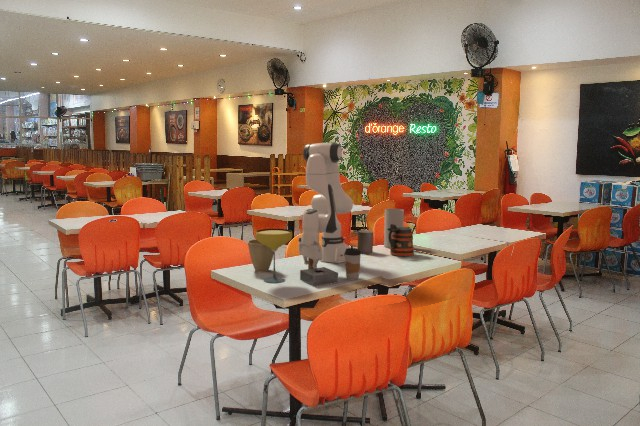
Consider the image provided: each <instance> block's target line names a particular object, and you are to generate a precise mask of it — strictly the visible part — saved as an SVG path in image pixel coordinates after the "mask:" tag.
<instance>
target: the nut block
mask: <svg viewBox="0 0 640 426" xmlns="http://www.w3.org/2000/svg"><path fill="white" fill-rule="evenodd" d="M299 274H300V275H299V280H300V281H301V282H304V283H306V284H308V285H310V286H311V287H317V286H318V287H319V286H325V285H332V284H338V283H339V272H337V271H335V270H332V269H330V268H327V267H325V266H324V267H323V266H321V267H317V268H313V269H308V268H305V269H299ZM337 282H338V283H337ZM331 283H332V284H331Z"/></svg>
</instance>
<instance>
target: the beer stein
mask: <svg viewBox="0 0 640 426" xmlns="http://www.w3.org/2000/svg"><path fill="white" fill-rule="evenodd" d="M388 230H389V231H390V232H389V242H390V244H391V247H390V248H389V249H390V251H389V252H390V253H389V254H390V255H392V256H397V257H412V256H414V255H415V249H414V242H413V241H414V235H413V230H412V228H410V226H403V227H396V225H393V224H391V225H390V228H388ZM392 232H393V233H392ZM391 234H392V238H391Z"/></svg>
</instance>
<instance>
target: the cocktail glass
mask: <svg viewBox="0 0 640 426" xmlns="http://www.w3.org/2000/svg"><path fill="white" fill-rule="evenodd" d="M292 238H293V231H292V230H291V229H288V228H287V229H285V228H264V229H259V230H257V231H256V232H255V239H257V240H258V241H259V242H260V243H262V244H264V245H266V246H268V247H269V248H270V249H271V250H272V251H273V252H274V254H273V275H272V277H266V278H264V279H263V282H264V283H267V284H279V283H284V282H285V281H286V278H284V277H280V276H279V277H278V276H276V257H275V256H276V251H278V249H279V248H280V247H283V246H284V245H286V244H288V243H289V242H290V241H291V240H292Z"/></svg>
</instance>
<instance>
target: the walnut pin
mask: <svg viewBox="0 0 640 426" xmlns="http://www.w3.org/2000/svg"><path fill="white" fill-rule="evenodd" d="M307 259H308V264H307V269H313V264H314V262H313V259H310V258H307Z"/></svg>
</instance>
